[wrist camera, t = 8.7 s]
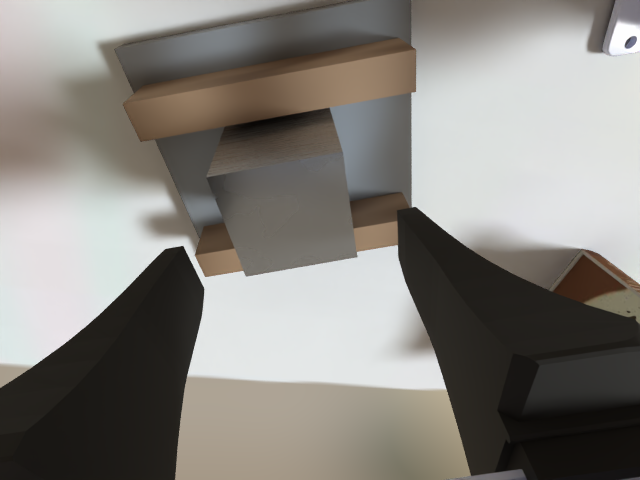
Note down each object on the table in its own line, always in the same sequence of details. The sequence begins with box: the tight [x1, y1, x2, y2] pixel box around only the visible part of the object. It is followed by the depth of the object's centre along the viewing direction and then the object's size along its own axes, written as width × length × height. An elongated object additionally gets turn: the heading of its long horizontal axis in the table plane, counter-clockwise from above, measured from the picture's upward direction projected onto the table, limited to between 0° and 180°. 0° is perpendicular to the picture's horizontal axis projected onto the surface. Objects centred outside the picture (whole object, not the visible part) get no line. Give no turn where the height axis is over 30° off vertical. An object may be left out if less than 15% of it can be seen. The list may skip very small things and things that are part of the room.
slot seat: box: [115, 0, 416, 277], centre depth 18 cm, size 12×12×4 cm
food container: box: [549, 249, 640, 324], centre depth 24 cm, size 12×6×10 cm, turn 167°
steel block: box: [206, 107, 357, 276], centre depth 16 cm, size 4×4×6 cm
